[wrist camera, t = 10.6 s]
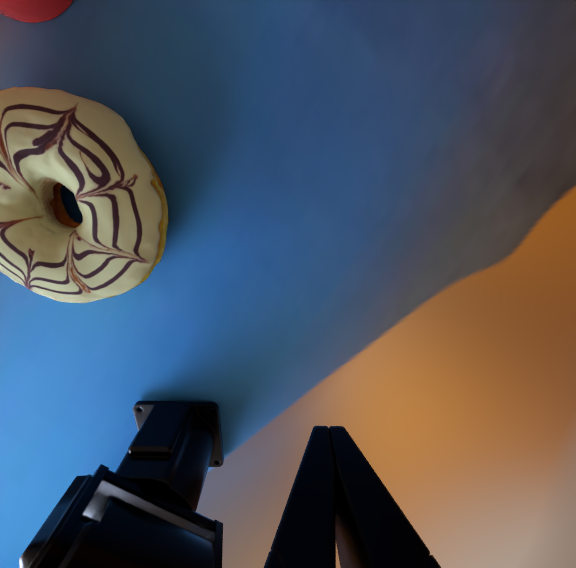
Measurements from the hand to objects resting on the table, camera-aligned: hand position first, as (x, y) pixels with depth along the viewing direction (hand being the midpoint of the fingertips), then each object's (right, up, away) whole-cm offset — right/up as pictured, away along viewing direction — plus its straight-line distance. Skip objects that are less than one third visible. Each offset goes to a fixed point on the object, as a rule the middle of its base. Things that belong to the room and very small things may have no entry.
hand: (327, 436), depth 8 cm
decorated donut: (-13, +9, +10) cm, 19 cm away
